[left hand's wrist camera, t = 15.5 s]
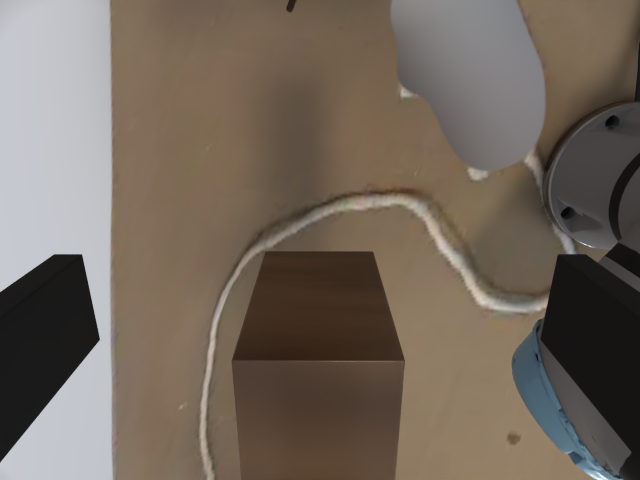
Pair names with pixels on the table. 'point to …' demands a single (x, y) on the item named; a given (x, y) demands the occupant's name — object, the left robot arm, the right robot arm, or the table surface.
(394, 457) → the bar
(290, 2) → the music box
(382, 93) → the table surface
